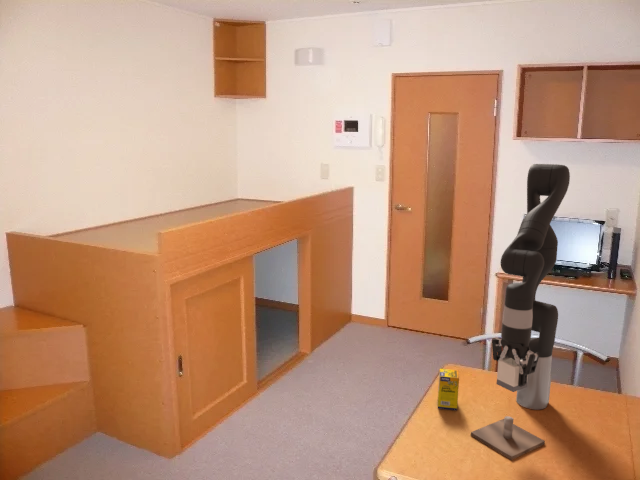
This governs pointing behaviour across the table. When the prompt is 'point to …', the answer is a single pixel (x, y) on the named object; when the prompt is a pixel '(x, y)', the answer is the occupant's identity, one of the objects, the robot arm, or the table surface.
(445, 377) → the supplement box
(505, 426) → the pin plate
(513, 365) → the sleeve
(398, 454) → the table surface
